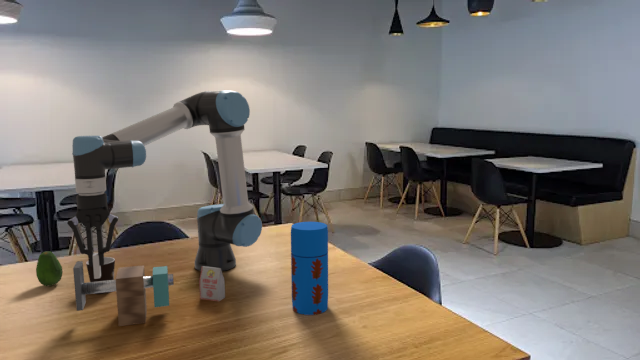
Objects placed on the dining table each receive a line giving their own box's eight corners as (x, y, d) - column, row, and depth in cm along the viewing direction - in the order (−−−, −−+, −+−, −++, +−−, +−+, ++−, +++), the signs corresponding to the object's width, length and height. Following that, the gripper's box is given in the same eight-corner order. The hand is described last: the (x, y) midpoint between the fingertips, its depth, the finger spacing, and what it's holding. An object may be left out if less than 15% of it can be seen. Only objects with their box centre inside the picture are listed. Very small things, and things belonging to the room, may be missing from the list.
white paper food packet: (206, 294, 162) (205, 264, 161) (225, 297, 160) (223, 266, 158) (200, 298, 159) (198, 268, 157) (218, 301, 157) (217, 270, 155)
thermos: (301, 318, 144) (300, 232, 140) (286, 304, 153) (284, 224, 150) (334, 310, 149) (334, 227, 145) (318, 298, 158) (317, 220, 155)
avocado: (32, 287, 170) (29, 252, 168) (54, 280, 176) (51, 246, 175) (47, 291, 166) (44, 256, 164) (69, 284, 173) (66, 249, 171)
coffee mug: (106, 296, 161) (104, 265, 160) (82, 294, 163) (80, 264, 162) (127, 283, 173) (125, 255, 171) (104, 282, 174) (102, 253, 173)
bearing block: (146, 309, 151) (144, 265, 149) (145, 322, 141) (142, 276, 139) (121, 312, 149) (118, 267, 147) (118, 326, 139) (115, 278, 137)
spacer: (169, 296, 151) (167, 266, 149) (169, 305, 144) (167, 273, 143) (154, 298, 150) (153, 267, 148) (154, 307, 143) (152, 275, 142)
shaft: (174, 292, 151) (172, 253, 149) (174, 299, 145) (172, 259, 143) (80, 302, 143) (76, 261, 141) (76, 310, 138) (73, 268, 136)
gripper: (62, 196, 132) (69, 284, 135) (116, 194, 136) (121, 278, 139) (67, 192, 139) (74, 275, 142) (118, 189, 143) (123, 270, 146)
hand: (97, 276), depth 141 cm, fingers closed
